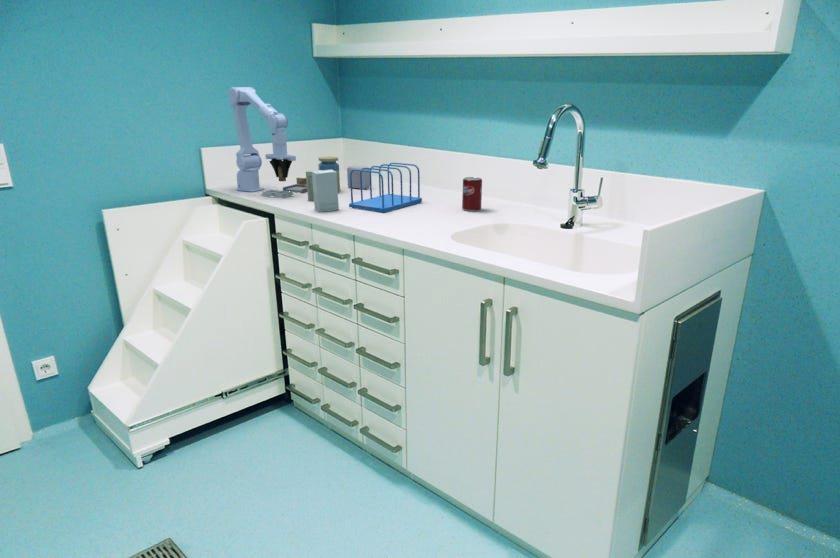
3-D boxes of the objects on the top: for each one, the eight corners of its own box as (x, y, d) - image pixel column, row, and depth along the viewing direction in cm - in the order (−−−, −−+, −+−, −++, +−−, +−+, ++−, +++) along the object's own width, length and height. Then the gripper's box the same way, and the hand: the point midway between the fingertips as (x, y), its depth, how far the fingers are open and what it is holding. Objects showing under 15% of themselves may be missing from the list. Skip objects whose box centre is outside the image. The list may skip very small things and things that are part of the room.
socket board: (261, 195, 251) (261, 191, 251) (271, 193, 257) (271, 189, 256) (283, 198, 246) (283, 194, 246) (293, 195, 252) (293, 191, 251)
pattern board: (282, 191, 261) (282, 187, 260) (309, 184, 277) (308, 181, 276) (303, 193, 256) (302, 189, 256) (328, 186, 272) (328, 182, 272)
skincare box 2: (334, 207, 228) (332, 169, 223) (339, 210, 223) (337, 171, 218) (313, 209, 224) (311, 170, 219) (318, 212, 219) (315, 172, 214)
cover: (296, 185, 267) (296, 177, 266) (308, 182, 275) (308, 175, 274) (312, 186, 264) (312, 179, 262) (324, 183, 271) (324, 176, 270)
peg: (277, 181, 247) (276, 166, 245) (281, 180, 250) (280, 165, 248) (283, 181, 246) (282, 167, 244) (287, 180, 249) (286, 166, 247)
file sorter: (388, 198, 247) (388, 161, 242) (422, 202, 238) (422, 164, 233) (348, 208, 228) (347, 168, 223) (383, 213, 218) (382, 172, 214)
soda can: (468, 212, 220) (469, 180, 216) (458, 208, 226) (459, 177, 222) (484, 210, 223) (486, 179, 219) (474, 207, 229) (475, 176, 225)
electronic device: (346, 188, 269) (345, 166, 266) (352, 186, 273) (352, 165, 270) (363, 190, 264) (363, 167, 261) (370, 188, 268) (369, 166, 265)
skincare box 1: (325, 199, 243) (323, 169, 239) (322, 201, 239) (321, 171, 235) (310, 199, 244) (308, 169, 240) (307, 201, 240) (305, 171, 236)
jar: (332, 189, 266) (331, 155, 261) (344, 192, 259) (343, 157, 254) (315, 191, 260) (313, 157, 255) (326, 194, 254) (325, 159, 249)
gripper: (259, 144, 243) (262, 177, 247) (287, 146, 237) (289, 179, 241) (270, 142, 249) (273, 175, 253) (298, 144, 243) (300, 177, 247)
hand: (281, 177), depth 248 cm, fingers closed on peg, 3 cm apart
